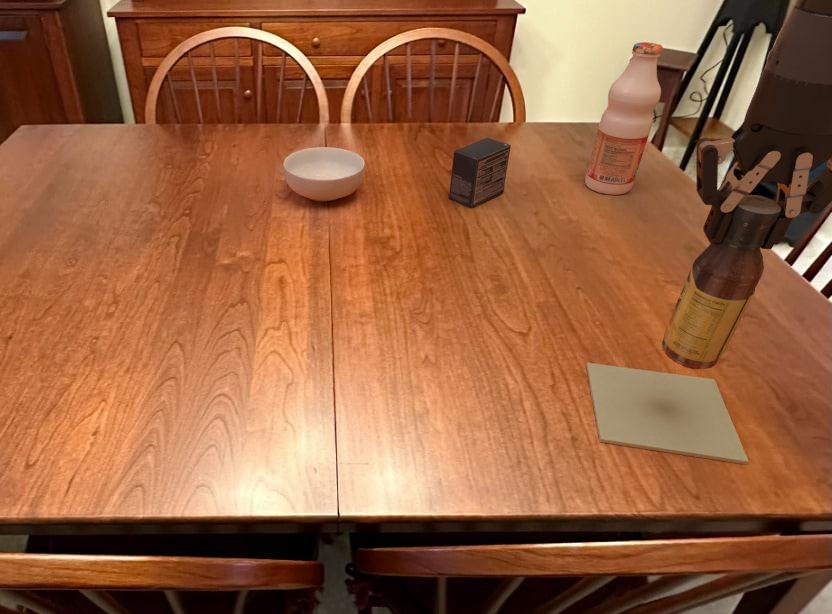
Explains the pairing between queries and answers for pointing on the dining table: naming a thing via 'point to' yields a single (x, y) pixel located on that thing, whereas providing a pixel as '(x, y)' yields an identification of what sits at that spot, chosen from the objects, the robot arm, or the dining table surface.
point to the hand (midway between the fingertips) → (738, 242)
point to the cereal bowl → (324, 172)
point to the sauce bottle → (720, 287)
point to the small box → (479, 172)
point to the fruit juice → (625, 123)
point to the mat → (663, 413)
